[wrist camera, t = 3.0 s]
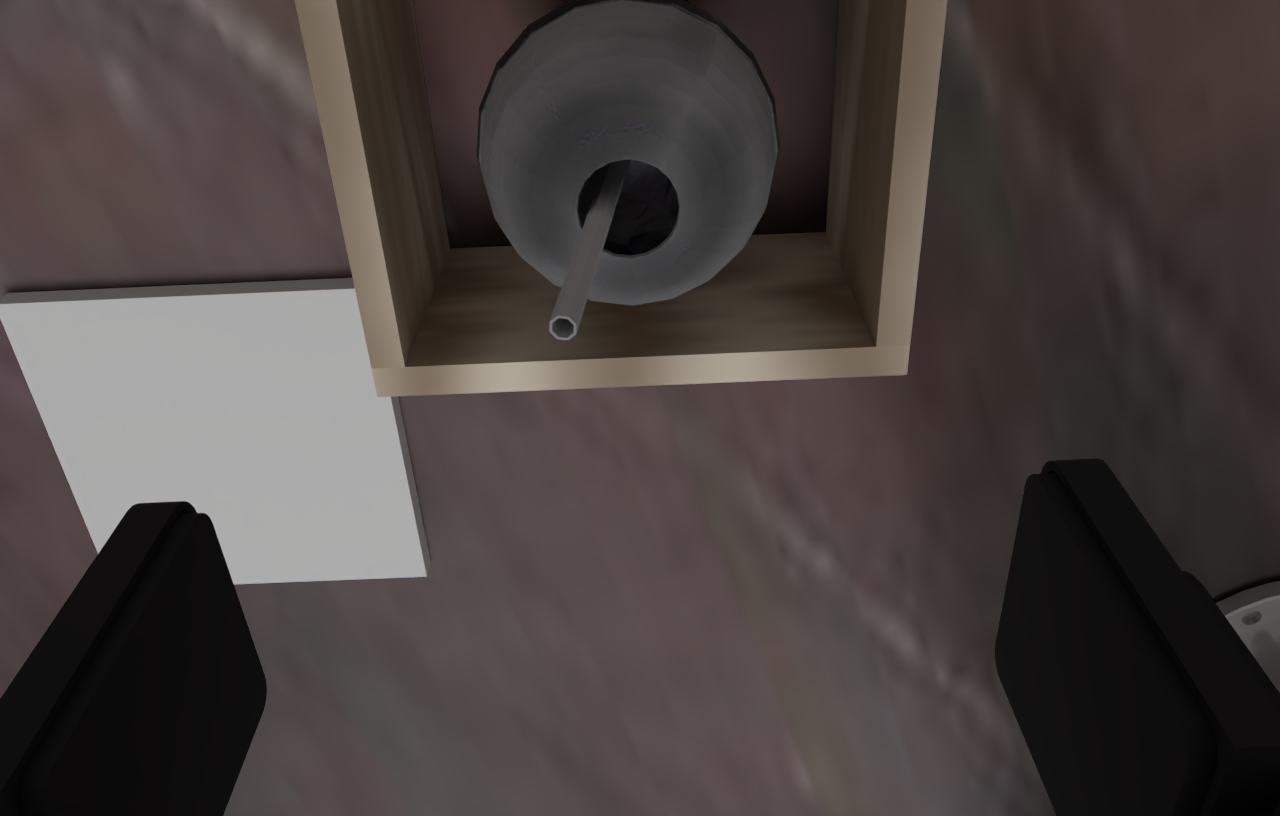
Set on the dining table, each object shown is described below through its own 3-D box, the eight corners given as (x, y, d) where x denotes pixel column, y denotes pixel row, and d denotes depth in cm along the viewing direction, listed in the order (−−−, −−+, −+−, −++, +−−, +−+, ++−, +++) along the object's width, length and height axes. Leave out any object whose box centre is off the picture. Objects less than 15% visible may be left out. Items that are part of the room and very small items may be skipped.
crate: (886, -251, 30) (976, -261, 22) (851, 255, 38) (906, 374, 31) (344, -223, 30) (248, -224, 22) (427, 274, 39) (377, 397, 31)
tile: (374, 276, 39) (368, 287, 38) (430, 561, 46) (426, 576, 45) (8, 292, 39) (-6, 304, 38) (122, 574, 46) (113, 588, 45)
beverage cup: (762, 110, 35) (886, 416, 18) (567, 179, 37) (515, 525, 20) (697, -110, 32) (778, 17, 15) (483, -26, 33) (332, 182, 16)
